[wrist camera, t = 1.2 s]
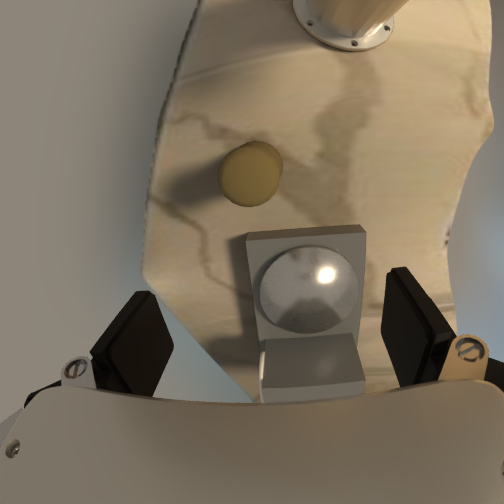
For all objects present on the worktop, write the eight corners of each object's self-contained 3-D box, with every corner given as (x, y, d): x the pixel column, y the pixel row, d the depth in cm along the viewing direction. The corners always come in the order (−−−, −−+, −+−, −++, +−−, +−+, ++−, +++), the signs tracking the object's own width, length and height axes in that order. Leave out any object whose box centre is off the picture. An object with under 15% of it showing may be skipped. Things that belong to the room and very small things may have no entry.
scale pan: (254, 249, 32) (254, 252, 31) (358, 241, 31) (360, 244, 30) (264, 331, 37) (264, 336, 36) (353, 324, 35) (354, 329, 34)
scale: (248, 232, 35) (233, 278, 24) (359, 224, 33) (393, 266, 22) (264, 355, 43) (258, 415, 32) (351, 348, 41) (365, 407, 30)
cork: (223, 152, 31) (196, 159, 21) (271, 133, 30) (268, 130, 20) (243, 198, 33) (226, 226, 23) (290, 181, 32) (296, 201, 22)
